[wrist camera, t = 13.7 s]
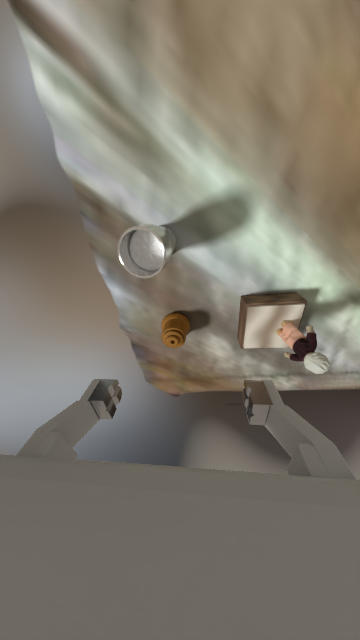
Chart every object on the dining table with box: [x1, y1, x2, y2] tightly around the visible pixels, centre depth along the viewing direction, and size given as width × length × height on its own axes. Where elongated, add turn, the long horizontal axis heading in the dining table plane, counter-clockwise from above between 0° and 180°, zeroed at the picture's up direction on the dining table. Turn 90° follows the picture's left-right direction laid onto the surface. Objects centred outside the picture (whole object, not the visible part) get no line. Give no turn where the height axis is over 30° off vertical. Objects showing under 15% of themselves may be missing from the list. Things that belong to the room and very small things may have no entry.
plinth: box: [237, 293, 307, 348], centre depth 40 cm, size 12×12×5 cm
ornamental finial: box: [161, 313, 190, 348], centre depth 42 cm, size 8×8×8 cm
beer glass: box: [118, 224, 176, 278], centre depth 29 cm, size 7×7×15 cm
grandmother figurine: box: [276, 320, 330, 374], centre depth 32 cm, size 8×4×13 cm, turn 176°
